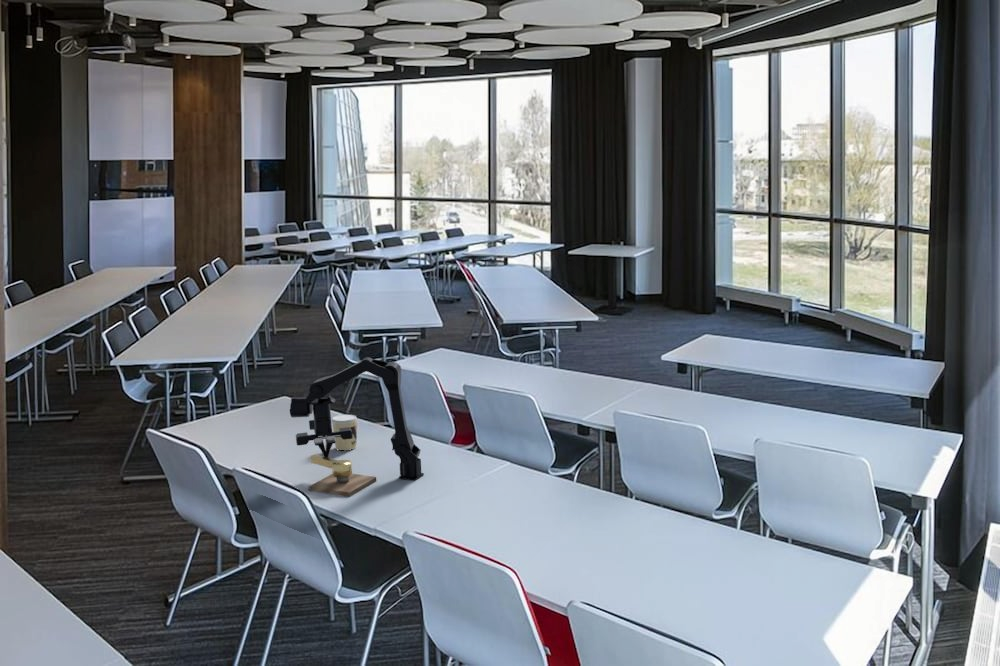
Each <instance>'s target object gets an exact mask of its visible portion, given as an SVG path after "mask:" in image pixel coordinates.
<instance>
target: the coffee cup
mask: <svg viewBox="0 0 1000 666" xmlns="http://www.w3.org/2000/svg"><path fill="white" fill-rule="evenodd" d="M331 423H332V432H337V431H339V428H346V427H349V428H351V430H352V435H353V438H352V439H346V440H343V439H342V438H341V437H335V442H336V443H334V445H335V450H336V449H338V450H350V449H354V448H356V449H357V444H358V443H357V441H358V440H357V437H358V436H357V433H358V431H357V429H358V428H357V427H358V426H357V425H358V418H357V416H356V415H354V414H340V415H335V416H333V417H332V418H331ZM338 450H337V451H338ZM354 450H355V449H354Z"/></svg>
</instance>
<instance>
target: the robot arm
mask: <svg viewBox="0 0 1000 666" xmlns="http://www.w3.org/2000/svg"><path fill="white" fill-rule="evenodd" d="M365 372H367V373H370V374H371V375H373V376H375V377H378V378H381V380H382V381H383V384H384V386H385V389H386V390H387V392H388V398H389V404H390V408H391V414H392V416H391V417H392V421H393V427H394V433H393V434H392V436H391V437H390V442H391V445H392V451H394V454H395V455H396V456H397V457H399V459H400V463H399V476H398V478H399V479H403V480H408V481H409V480H411V481H416V480H418V479H420V478H421V477H423V476H424V475H425V473H423V472H422V459H421V458H420V457H419V456H420V454H421V448H419V447H418V446H417V445H416V444H415V442H414V440H413V436H412V434H411V432H410V430H409V429H408V428H409V427H408V425H407V420H406V419H407V418H406V414H405V408H404V403H403V395H402V391H401V390H402V389H401V386H402V385H401V384H402V367H401V365H400V363H398V362H396V361H389V362H388V361H385V360H380V359H375V358H372V357H368V356H367V357H364V358H363V359H362V360H360V361H358V362H357V363H354V364H352V365H350V366H349V367H347V368H345V369H343V370H341V371H339V372H337V373H335V374H332V375H327V376H324V377H320V378H318V379H316V380H315V381H314V382H312V384H310V385H309V393H308V394H307V396H305V397H296V396H295V397H292V398H290V405H289V406H290V407H289V414H290V417H291V418H309V417H310V415H312V414H313V419H310V420H308V427H309V431H310V430H311V431H314V434H308V432H299V433H296V434H295V442H296V446H306V445H308V443H309V442H310V441H313V444H314V446H318V447H319V449H320V450H321V453H322V456H324V457H327V458H329V454H330V451H331V449H332V447H333V444H335V443H336V442H335V437H341V438H342V439H343V440H346V439H352V438H353V435H352V430H351V428H349V427H346V428H339V431H337V432H334V431H333V422H332V413H331V405H333V404H334V403H335V402H336V399H335V398H334V397H332V395H328V394H330V393H331V392H332V391H333V390H334V389H336V388H337V387H338V386H340V385H342V384H344V383H346V382H348V381H350V380H352V379H354V378H356V377H358V376H360V375H362V374H363V373H365ZM326 395H328V397H325V396H326ZM316 399H317V400H316ZM324 440H325V442H324ZM324 443H325V444H324Z"/></svg>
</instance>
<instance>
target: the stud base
mask: <svg viewBox="0 0 1000 666" xmlns="http://www.w3.org/2000/svg"><path fill="white" fill-rule="evenodd" d="M375 482H377V477H376V476H374V475H365V474H357V473H352V475H351V476H348V477H343V478H337V477H334V476H333V473H332V474H329V475H327V476H326V477H324V478H322V479H321V480H318V481H316V482H315V483H313V484H310V485H308V491H309V492H313V491H315V493H321V494H329V495H335V496H343V497H347V498H348V497H349V498H350V497H352V496H354V495H355V494H357V493H358V492H360V491H362V490H364V489H366V488H367V487H369V486H370V485H373V484H374V483H375Z"/></svg>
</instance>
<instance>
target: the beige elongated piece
mask: <svg viewBox="0 0 1000 666" xmlns="http://www.w3.org/2000/svg"><path fill="white" fill-rule="evenodd" d="M310 462H311V463H312V464H314V465H318V466H322V467H325V468H328V469H332V474H333V476H334V477H337V478H343V477H348V476H351V475H352V474H353V467H352V461H351V460H350V459H340V460H339V459H338V460H337V459H335V458H330V457H328V458H327V457H324V455H319V454H317V453H315V454H312V455H310Z"/></svg>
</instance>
